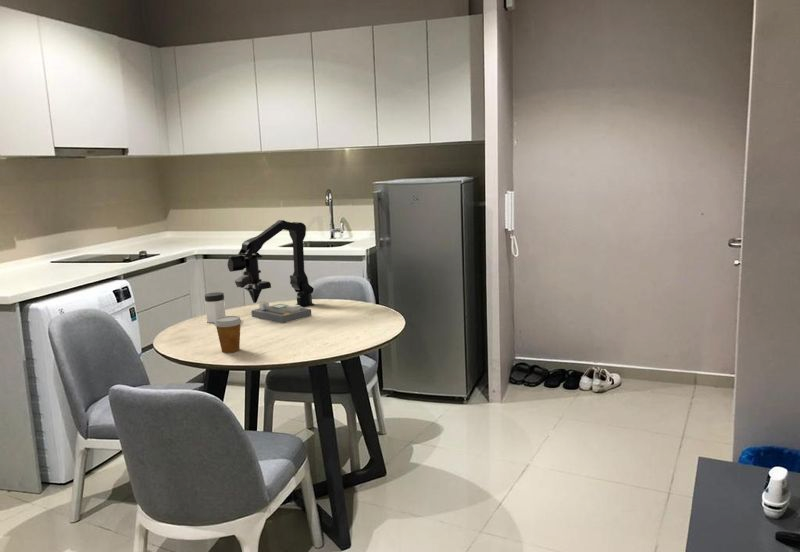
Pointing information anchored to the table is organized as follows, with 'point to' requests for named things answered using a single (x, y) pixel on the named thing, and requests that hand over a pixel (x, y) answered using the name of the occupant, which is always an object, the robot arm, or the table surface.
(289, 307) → the offwhite button
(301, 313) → the control panel
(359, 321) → the table surface
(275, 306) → the sage button
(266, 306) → the slider knob
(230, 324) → the disposable coffee cup
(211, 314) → the jar
